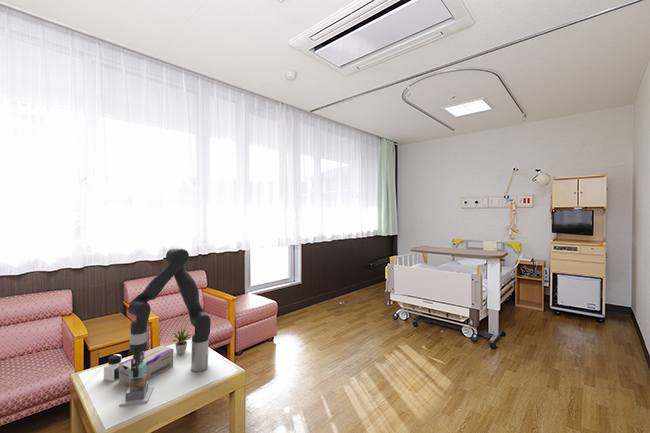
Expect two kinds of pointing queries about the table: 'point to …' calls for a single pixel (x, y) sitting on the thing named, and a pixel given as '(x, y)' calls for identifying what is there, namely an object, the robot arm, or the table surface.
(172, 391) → the table surface
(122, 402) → the plate
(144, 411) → the table surface
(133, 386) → the walnut block
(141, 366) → the teal block
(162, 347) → the surgical sutures box
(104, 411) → the table surface
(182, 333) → the house plant
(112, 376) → the medicine bottle
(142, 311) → the robot arm
